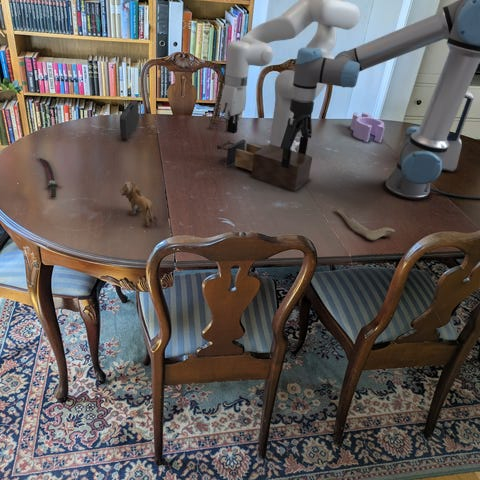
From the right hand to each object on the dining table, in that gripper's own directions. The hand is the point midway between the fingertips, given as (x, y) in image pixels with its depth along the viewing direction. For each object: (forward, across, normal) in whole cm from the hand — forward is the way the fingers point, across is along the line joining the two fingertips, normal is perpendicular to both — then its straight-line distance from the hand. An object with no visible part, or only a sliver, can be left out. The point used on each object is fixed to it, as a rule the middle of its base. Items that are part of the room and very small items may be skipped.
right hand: (293, 161), depth 161 cm
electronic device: (+9, -54, +41) cm, 69 cm away
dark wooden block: (+8, 0, -4) cm, 9 cm away
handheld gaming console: (+7, +2, -73) cm, 73 cm away
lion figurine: (+7, +52, -24) cm, 58 cm away
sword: (+7, +52, -63) cm, 82 cm away
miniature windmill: (+7, -29, -49) cm, 57 cm away
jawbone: (+8, +12, +31) cm, 34 cm away
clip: (+8, -70, +5) cm, 70 cm away
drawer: (+7, 0, -19) cm, 20 cm away
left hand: (-4, 0, -25) cm, 26 cm away
